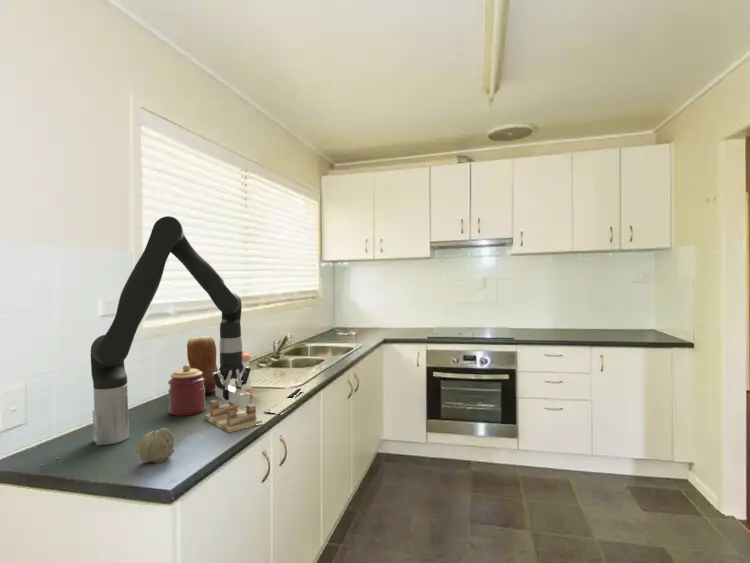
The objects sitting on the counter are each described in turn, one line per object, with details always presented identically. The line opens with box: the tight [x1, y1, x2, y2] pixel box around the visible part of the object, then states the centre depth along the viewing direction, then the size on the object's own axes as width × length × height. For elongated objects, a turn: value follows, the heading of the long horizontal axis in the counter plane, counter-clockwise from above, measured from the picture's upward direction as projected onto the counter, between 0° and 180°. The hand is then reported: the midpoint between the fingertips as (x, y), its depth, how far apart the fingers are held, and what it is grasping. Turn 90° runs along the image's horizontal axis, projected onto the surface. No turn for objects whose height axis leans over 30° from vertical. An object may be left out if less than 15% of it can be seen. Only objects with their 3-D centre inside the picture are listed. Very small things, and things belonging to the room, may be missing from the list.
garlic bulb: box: [134, 427, 175, 464], centre depth 125 cm, size 9×8×10 cm
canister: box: [167, 364, 207, 417], centre depth 169 cm, size 13×13×18 cm
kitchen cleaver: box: [262, 388, 302, 416], centre depth 179 cm, size 31×2×10 cm
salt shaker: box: [234, 350, 253, 398], centre depth 188 cm, size 7×7×19 cm
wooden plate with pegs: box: [204, 399, 263, 434], centre depth 156 cm, size 20×12×6 cm, turn 42°
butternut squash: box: [186, 335, 219, 395], centre depth 193 cm, size 14×13×25 cm
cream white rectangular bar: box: [214, 382, 251, 408], centre depth 156 cm, size 20×4×4 cm, turn 43°
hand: (232, 398), depth 156 cm, fingers closed on cream white rectangular bar, 3 cm apart
